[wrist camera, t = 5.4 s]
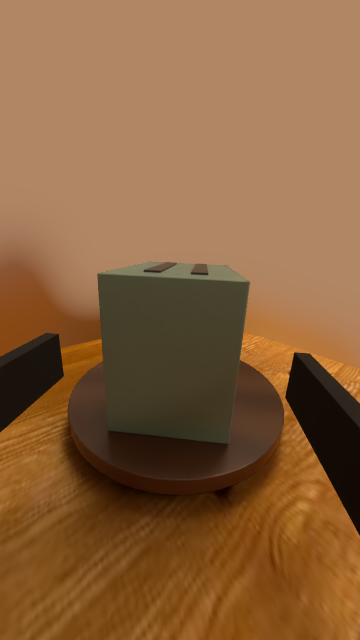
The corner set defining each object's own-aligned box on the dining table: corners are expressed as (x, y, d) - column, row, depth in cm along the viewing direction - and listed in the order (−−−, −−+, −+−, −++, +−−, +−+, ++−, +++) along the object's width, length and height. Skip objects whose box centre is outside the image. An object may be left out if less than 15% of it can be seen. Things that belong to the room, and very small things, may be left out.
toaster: (329, 517, 13) (404, 294, 9) (6, 474, 14) (-44, 270, 10) (255, 359, 31) (269, 264, 27) (117, 348, 32) (113, 257, 29)
